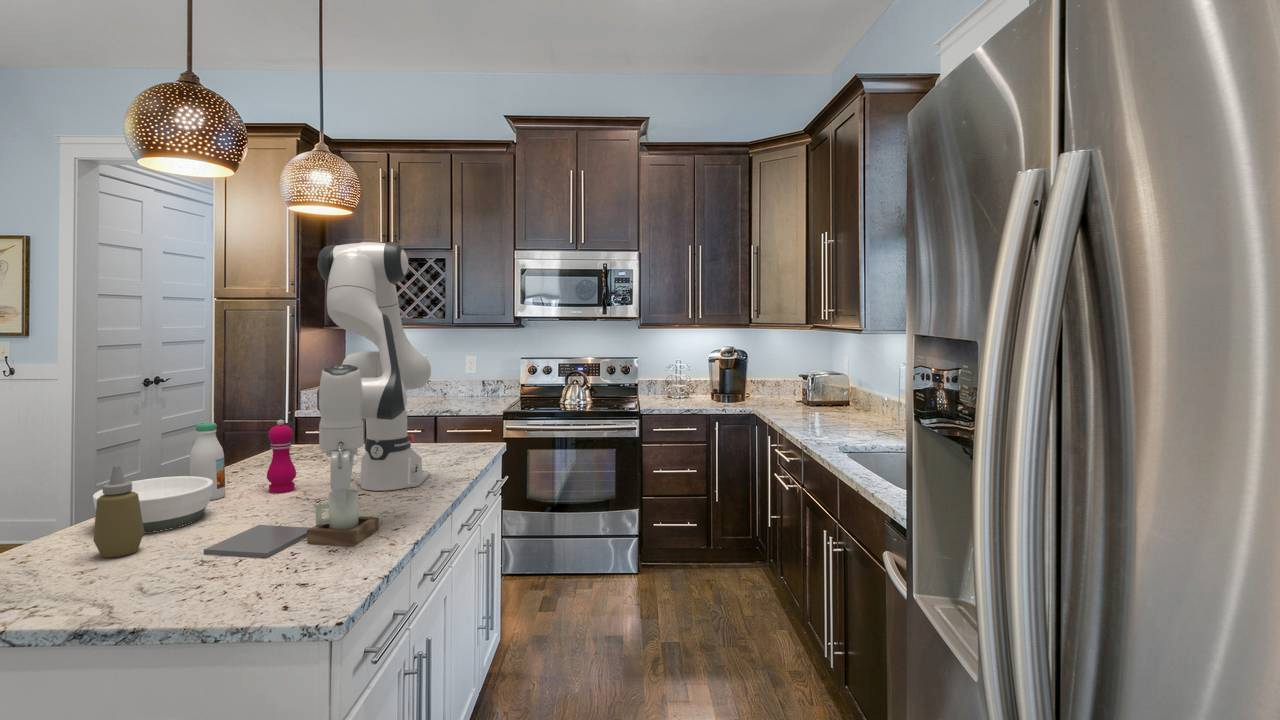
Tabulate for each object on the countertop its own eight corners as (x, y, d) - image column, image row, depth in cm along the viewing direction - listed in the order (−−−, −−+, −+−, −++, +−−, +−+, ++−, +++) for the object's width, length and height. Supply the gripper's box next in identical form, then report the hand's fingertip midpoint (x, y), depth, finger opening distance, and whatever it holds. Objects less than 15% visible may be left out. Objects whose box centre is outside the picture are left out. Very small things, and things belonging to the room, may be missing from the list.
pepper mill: (287, 494, 175) (285, 421, 174) (261, 493, 175) (259, 421, 174) (301, 487, 182) (300, 417, 181) (276, 486, 182) (275, 417, 181)
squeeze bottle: (102, 549, 132) (99, 463, 131) (150, 544, 136) (147, 460, 134) (87, 563, 125) (83, 472, 124) (137, 557, 128) (134, 469, 127)
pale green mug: (359, 531, 145) (358, 488, 145) (358, 539, 140) (358, 494, 139) (317, 535, 142) (316, 491, 142) (315, 544, 137) (314, 498, 136)
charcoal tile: (259, 528, 146) (259, 524, 146) (316, 532, 144) (316, 527, 144) (203, 554, 130) (203, 549, 130) (266, 558, 129) (266, 553, 129)
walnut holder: (336, 528, 147) (335, 515, 147) (378, 530, 146) (378, 517, 146) (307, 543, 137) (306, 530, 137) (352, 546, 136) (352, 532, 136)
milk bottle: (208, 502, 166) (205, 426, 165) (183, 500, 168) (180, 425, 166) (232, 495, 174) (230, 422, 172) (208, 493, 175) (206, 421, 174)
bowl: (71, 542, 136) (70, 504, 136) (123, 512, 158) (122, 478, 157) (193, 533, 143) (192, 497, 142) (227, 505, 164) (226, 473, 164)
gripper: (356, 446, 132) (357, 512, 132) (358, 431, 151) (358, 489, 151) (322, 448, 129) (323, 515, 130) (328, 432, 148) (329, 491, 149)
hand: (342, 501), depth 141 cm, fingers open, 8 cm apart
